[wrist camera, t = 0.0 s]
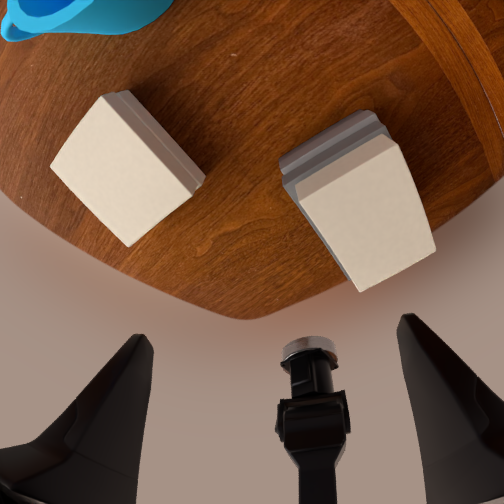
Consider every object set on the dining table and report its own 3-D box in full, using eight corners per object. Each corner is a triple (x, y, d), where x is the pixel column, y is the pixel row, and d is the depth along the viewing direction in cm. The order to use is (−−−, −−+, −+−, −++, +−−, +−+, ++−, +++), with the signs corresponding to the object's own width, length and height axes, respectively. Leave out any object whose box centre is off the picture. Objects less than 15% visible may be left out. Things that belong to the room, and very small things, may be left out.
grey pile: (408, 205, 21) (432, 235, 17) (337, 245, 24) (349, 281, 20) (360, 105, 17) (384, 117, 13) (275, 157, 19) (278, 181, 16)
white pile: (206, 176, 20) (196, 197, 18) (145, 225, 23) (130, 250, 20) (126, 87, 16) (102, 93, 13) (74, 150, 19) (49, 166, 16)
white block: (423, 232, 17) (436, 251, 16) (352, 271, 20) (359, 293, 18) (381, 132, 14) (398, 143, 12) (294, 184, 16) (298, 201, 14)
